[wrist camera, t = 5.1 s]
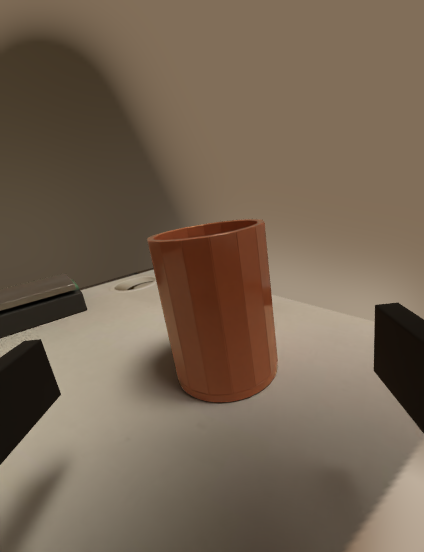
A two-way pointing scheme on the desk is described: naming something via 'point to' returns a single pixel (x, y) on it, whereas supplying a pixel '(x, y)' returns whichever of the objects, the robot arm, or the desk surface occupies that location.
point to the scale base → (41, 311)
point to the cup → (217, 307)
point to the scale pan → (35, 291)
